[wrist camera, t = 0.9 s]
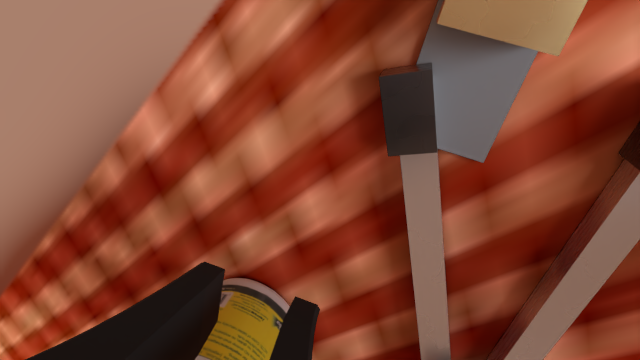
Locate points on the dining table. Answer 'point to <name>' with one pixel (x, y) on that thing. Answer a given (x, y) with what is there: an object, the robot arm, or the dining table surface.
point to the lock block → (515, 20)
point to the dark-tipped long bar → (580, 264)
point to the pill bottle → (245, 322)
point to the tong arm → (420, 196)
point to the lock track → (472, 86)
